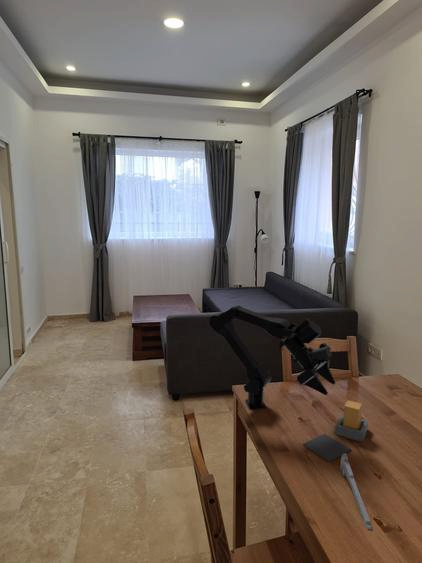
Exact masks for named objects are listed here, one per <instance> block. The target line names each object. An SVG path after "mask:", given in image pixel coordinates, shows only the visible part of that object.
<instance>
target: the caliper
mask: <svg viewBox="0 0 422 563" xmlns="http://www.w3.org/2000/svg"><path fill="white" fill-rule="evenodd" d="M348 460H349V457H348V454H347V453H346V454H343V455H342V456H341V458H340V471H341V472H342V476H345V477H346V481H347V483H349V484H350V485H349V486H350V488H351V491H352V493H353V496H354V499H355V502H356V505H357V507H358V510H359V512H360V516H361V518H362V521H363V523H364V525H365V527H366V530H368V531H369V530H370V531H371V530H373V528H372V525H371V519H370V517H369V515H368V512H367V510H366V506H365V504H364V501H363V498H362V497H361V496H362V495H361V493H360V491H359V487H358V485H357V483H356V480H355V478H354V473H353V470H352V467H351V465H350V463H349V461H348Z"/></svg>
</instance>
